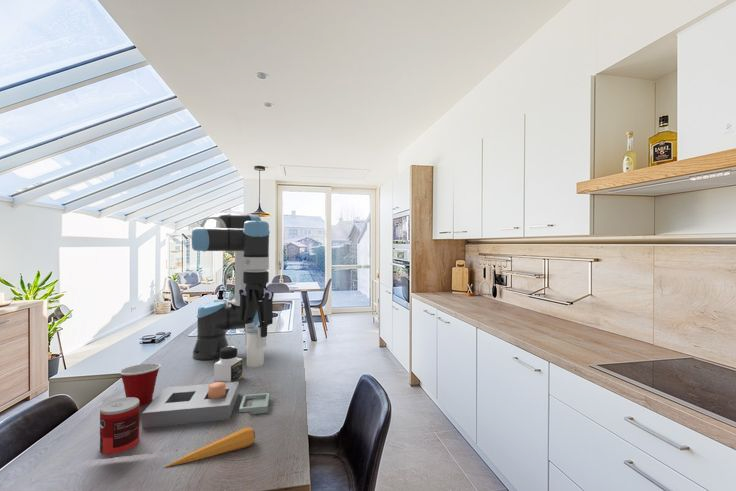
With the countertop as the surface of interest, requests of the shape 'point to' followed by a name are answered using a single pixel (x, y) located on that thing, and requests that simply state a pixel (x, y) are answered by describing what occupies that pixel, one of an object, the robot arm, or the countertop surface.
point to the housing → (189, 406)
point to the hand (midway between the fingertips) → (255, 345)
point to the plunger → (217, 390)
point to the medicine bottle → (228, 365)
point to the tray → (255, 403)
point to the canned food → (119, 425)
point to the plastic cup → (140, 381)
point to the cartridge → (254, 349)
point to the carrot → (221, 446)
